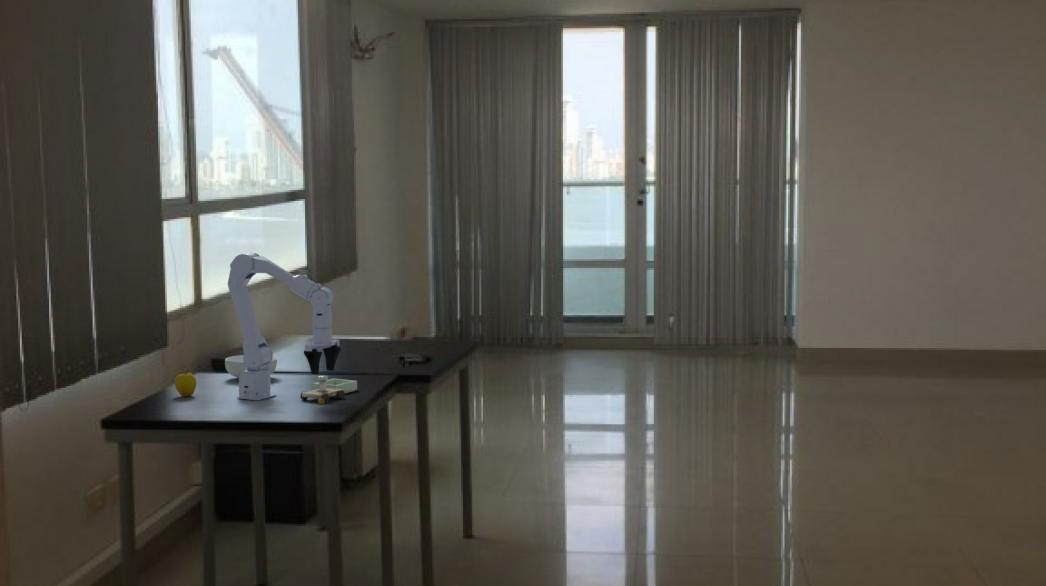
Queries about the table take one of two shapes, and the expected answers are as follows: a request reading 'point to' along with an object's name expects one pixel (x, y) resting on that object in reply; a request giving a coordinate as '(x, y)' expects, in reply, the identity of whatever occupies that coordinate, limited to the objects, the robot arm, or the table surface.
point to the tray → (339, 385)
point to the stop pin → (322, 383)
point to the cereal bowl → (243, 365)
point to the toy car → (322, 394)
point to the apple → (185, 384)
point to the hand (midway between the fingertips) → (322, 372)
